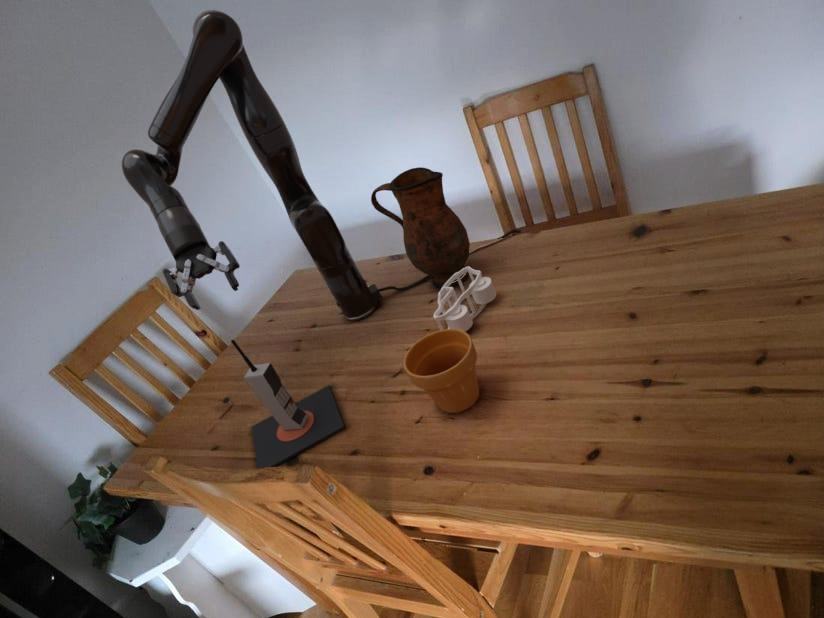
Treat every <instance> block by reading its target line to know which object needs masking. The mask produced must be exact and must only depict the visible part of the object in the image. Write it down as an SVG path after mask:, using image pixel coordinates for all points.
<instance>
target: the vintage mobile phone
mask: <svg viewBox="0 0 824 618" xmlns="http://www.w3.org/2000/svg"><path fill="white" fill-rule="evenodd" d="M230 342H231V344H232V345H233V346H234V348H235V349H236V350H237V352H238V353H239V354H240V355H241V356H242V359H243V360H244V362H245V363H246V364H247V366H248V367H249V368H248V371H247V372H246V374H245V375H244V377H243V378H244V381H245V383H246V384H247V385H248V386H249V387H250V389H251V390H252V391H253V392H254V394H255V395H256V396H257V397H258V399H259V400H260V401H261V403H262V404H263V405H264V407H265V408H266V409H267V410H268V412H269V413H270V415H271V416H273V417H274V418H275V419H276V421H277V422H278V423H279V425H280V426H281V427H282V429H283V430H294V429H302V428H303V426H304V425H305V423H306V421H307V419H308V414H307V413H306V412H304V411H303V410H301V409H300V408H299V407H298V406H297V404H296V403H297V402H295V400H294V399H293V397H292V396H291V395H290V393H289V392H288V390H287V389H286V387H285V386H284V385H283V383H282V380H281V378H280V376H279V374H278V373H277V371H276V369H275V367H274V366H273V364H272V363H271V362H267V363H261V364H253V363H252V361H251V360H250V359H249V357H248V356H247V355H246V354H245V352H244V351H243V350H242V349H241V348H240V346H239V345H238V343H237V342H236V341H235V339H231V340H230Z"/></svg>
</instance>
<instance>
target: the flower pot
mask: <svg viewBox="0 0 824 618" xmlns="http://www.w3.org/2000/svg"><path fill="white" fill-rule="evenodd" d="M443 329H444V330H440V329H439V330H436V331H434V332H431V333H429V334H426V335H425V336H422V337H421V338H420V339H418V340H417V341H416V342H415V343H414V344H412V346H411V347H410V348H409V349H408V350H407V352H406V354H405V356H404V358H403V369H404V370H405V372H406V374H407V376H408V378H409V379H410V381H411V383H412V384H413V385H414V386H415V387H417V388H419V389H420V390H423V391H424V392H425V393H426V394H427V395H428V396H429V397H430V398H431V400H432V401H433V402H434V403H435V404H436V405H437V406H438V407H439V408H440V409H441V411H443V412H445V413H448V414H457V413H461V412H464V411H466V410H467V409H469V408H471V407H472V406H473V405H474V404H475V403H476V402H477V401H478V399H479V397H480V387H479V381H478V375H477V368H476V364H477V358H478V353H477V349H476V347H475V344H474V342H473V340H472V338H471V336H470V334H469V333H467V331H465V332H464V331H462V330H459V329H448V328H443Z"/></svg>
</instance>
